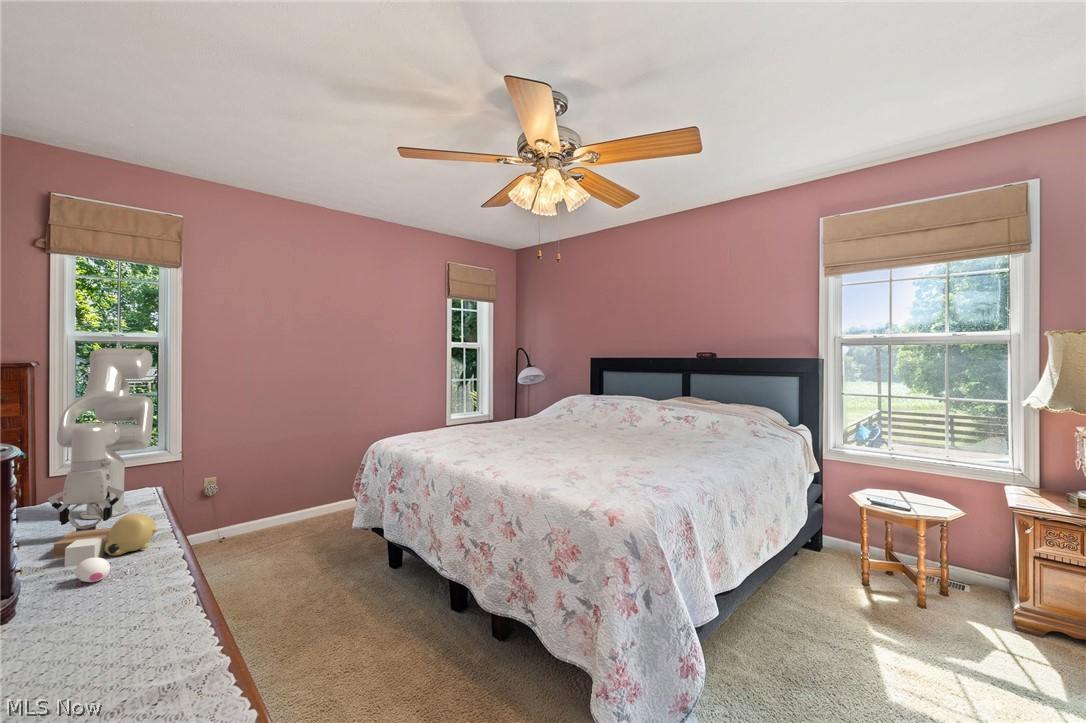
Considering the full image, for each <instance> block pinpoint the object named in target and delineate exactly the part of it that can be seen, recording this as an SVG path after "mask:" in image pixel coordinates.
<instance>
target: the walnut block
mask: <svg viewBox="0 0 1086 723" xmlns="http://www.w3.org/2000/svg"><path fill="white" fill-rule="evenodd" d="M111 528H112V527H106V528H96V529H95V530H85V531H76V530H75V531H71V532H70V533H68V534H67V535H66V536H64V537H63V538H61V539H60V540H58V541H56V542H55V543H54V544H53V559H54V560H55V559H62V558H64V559H65V548H66V547H68V546H69V545H70V544H72V543H73V542H74V541H76V540H82V539H92V538H101V537H104V546H105V544H106V541H108V536H109V532H110V530H111ZM104 551H105V549H104Z"/></svg>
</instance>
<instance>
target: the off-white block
mask: <svg viewBox="0 0 1086 723" xmlns="http://www.w3.org/2000/svg"><path fill="white" fill-rule="evenodd" d="M104 555H105V550H104V537H101V538H92V539H82V540H76V541H74V542H73V543H72V544H70V545H69V546H68V547H66V548H65V557H64V567H71V566H77V565H78V564H79V563H80V562H82V561H83V560H85V559H88V558H93V557H98V558H102V557H103V556H104Z"/></svg>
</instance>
